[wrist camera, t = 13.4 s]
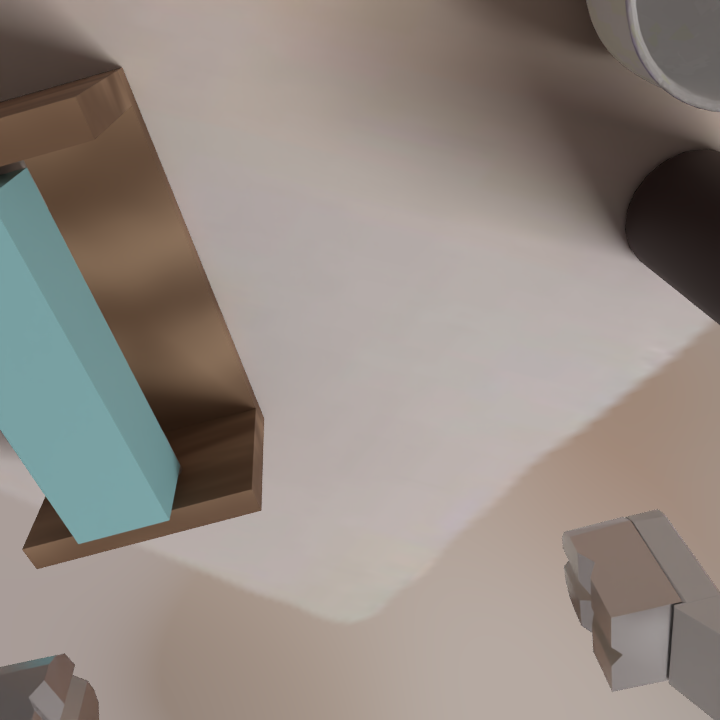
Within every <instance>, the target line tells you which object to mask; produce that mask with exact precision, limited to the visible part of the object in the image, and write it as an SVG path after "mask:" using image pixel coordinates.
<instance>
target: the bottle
mask: <svg viewBox="0 0 720 720" xmlns="http://www.w3.org/2000/svg"><path fill="white" fill-rule="evenodd" d="M625 230H626V234H627V238H628V243H629V246H630V248H631V250H632V251H633V252H634V254H635V255H636V256H637V258H638V259H639V261H641V262H642V263H643V264H644V265H646V266H647V267H648V268H649V269H651V270H652V271H653V272H654V273H656V274H657V275H658V276H659V277H661V278H662V279H663V280H664V281H666V282H667V283H668V284H669V285H671V286H672V287H673V288H674V289H676V290H677V291H678V292H679V293H681V294H682V295H683V296H684V297H686V298H687V299H688V300H689V301H691V302H692V303H693V304H694V305H696V306H697V307H698V308H699V309H701V310H702V311H703V312H704V313H706V314H707V315H708V316H709V317H711V318H712V319H713V320H714V321H716V322H717V323H718V324H719V325H720V152H717V151H712V150H707V149H704V150H697V151H690V152H684V153H682V154H680V155H677V156H675V157H673V158H671V159H669V160H667V161H665V162H663V163H662V164H661V165H660V166H659V167H657V168H656V169H655V170H654V171H652V172H651V173H650V174H649V175H648V176H647V177H646V178H645V180H644V181H643V182H642V184H641V185H640V186H639V188H638V189H637V190H636V192H635V194H634V196H633V198H632V201H631V203H630V206H629V208H628V211H627V218H626V228H625Z"/></svg>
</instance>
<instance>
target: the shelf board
mask: <svg viewBox="0 0 720 720" xmlns="http://www.w3.org/2000/svg"><path fill="white" fill-rule="evenodd" d="M0 430H1V431H2V433H3V434H4V436H5V437H6V439H7V440H8V442H9V443H10V445H11V446H12V448H13V449H14V451H15V452H16V453H17V455H18V456H19V458H20V459H21V461H22V462H23V464H24V465H25V467H26V468H27V470H28V471H29V472H30V474H31V475H32V477H33V478H34V480H35V481H36V483H37V484H38V486H39V487H40V489H41V490H42V492H43V493H44V494H45V496H46V497H47V499H48V500H49V502H50V503H51V505H52V506H53V508H54V509H55V511H56V512H57V513H58V515H59V516H60V518H61V519H62V521H63V522H64V524H65V525H66V527H67V528H68V530H69V531H70V533H71V534H72V535H73V537H74V538H75V540H76V541H77V543H78V544H81V543H85V542H89V541H93V540H96V539H100V538H104V537H108V536H112V535H115V534H119V533H123V532H127V531H131V530H135V529H138V528H142V527H146V526H150V525H154V524H157V523H161V522H165V521H169V520H170V515H171V510H172V505H173V500H174V495H175V489H176V484H177V479H178V474H179V469H180V464H179V462H178V460H177V458H176V456H175V454H174V452H173V450H172V448H171V447H170V445H169V443H168V441H167V439H166V437H165V435H164V433H163V431H162V429H161V427H160V425H159V423H158V421H157V419H156V417H155V415H154V414H153V412H152V410H151V408H150V406H149V404H148V402H147V400H146V398H145V396H144V394H143V392H142V390H141V388H140V386H139V384H138V382H137V381H136V379H135V377H134V375H133V373H132V371H131V369H130V367H129V365H128V363H127V361H126V359H125V357H124V355H123V353H122V351H121V349H120V348H119V346H118V344H117V342H116V340H115V338H114V336H113V334H112V332H111V330H110V328H109V326H108V324H107V322H106V320H105V318H104V316H103V315H102V313H101V311H100V309H99V307H98V305H97V303H96V301H95V299H94V297H93V295H92V293H91V291H90V289H89V287H88V285H87V283H86V282H85V280H84V278H83V276H82V274H81V272H80V270H79V268H78V266H77V264H76V262H75V260H74V258H73V256H72V254H71V252H70V250H69V249H68V247H67V245H66V243H65V241H64V239H63V237H62V235H61V233H60V231H59V229H58V227H57V225H56V223H55V221H54V219H53V217H52V215H51V214H50V212H49V210H48V208H47V206H46V204H45V202H44V200H43V198H42V196H41V194H40V192H39V190H38V188H37V186H36V184H35V182H34V181H33V179H32V177H31V175H30V173H29V171H28V169H27V168H23V169H20V170H16V171H12V172H9V173H5V174H2V175H0Z"/></svg>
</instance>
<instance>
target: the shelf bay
mask: <svg viewBox="0 0 720 720" xmlns="http://www.w3.org/2000/svg"><path fill="white" fill-rule="evenodd" d="M23 168H27V169H28V171H29V173H30V175H31V177H32V179H33V181H34V182H35V184H36V186H37V188H38V190H39V192H40V194H41V196H42V198H43V200H44V202H45V204H46V206H47V208H48V210H49V212H50V214H51V215H52V217H53V219H54V221H55V223H56V225H57V227H58V229H59V231H60V233H61V235H62V237H63V239H64V241H65V243H66V245H67V247H68V249H69V250H70V252H71V254H72V256H73V258H74V260H75V262H76V264H77V266H78V268H79V270H80V272H81V274H82V276H83V278H84V280H85V282H86V283H87V285H88V287H89V289H90V291H91V293H92V295H93V297H94V299H95V301H96V303H97V305H98V307H99V309H100V311H101V313H102V315H103V316H104V318H105V320H106V322H107V324H108V326H109V328H110V330H111V332H112V334H113V336H114V338H115V340H116V342H117V344H118V346H119V348H120V349H121V351H122V353H123V355H124V357H125V359H126V361H127V363H128V365H129V367H130V369H131V371H132V373H133V375H134V377H135V379H136V381H137V382H138V384H139V386H140V388H141V390H142V392H143V394H144V396H145V398H146V400H147V402H148V404H149V406H150V408H151V410H152V412H153V414H154V415H155V417H156V419H157V421H158V423H159V425H160V427H161V429H162V431H163V433H164V435H165V437H166V439H167V441H168V443H169V445H170V447H171V448H172V450H173V452H174V454H175V456H176V458H177V460H178V462H179V464H180V469H179V474H178V479H177V484H176V489H175V495H174V500H173V505H172V510H171V515H170V520H169V521H165V522H161V523H157V524H154V525H150V526H146V527H142V528H138V529H135V530H131V531H127V532H123V533H119V534H115V535H112V536H108V537H104V538H100V539H96V540H93V541H89V542H85V543H81V544H78V543H77V541H76V540H75V538H74V537H73V535H72V534H71V533H70V531H69V530H68V528H67V527H66V525H65V524H64V522H63V521H62V519H61V518H60V516H59V515H58V513H57V512H56V511H55V509H54V508H53V506H52V505H51V503H50V502H49V500H48V499H47V497H45V499H44V501H43V504H42V506H41V508H40V510H39V513H38V515H37V517H36V520H35V522H34V524H33V526H32V528H31V531H30V533H29V535H28V538H27V540H26V542H25V544H24V547H23V551H24V552H25V554H26V555H27V557H28V558H29V559H30V561H31V562H32V563H33V565H34V566H35V567H36V568H37V569H39V568H43V567H46V566H51V565H54V564H58V563H62V562H66V561H70V560H74V559H77V558H81V557H85V556H89V555H93V554H97V553H100V552H104V551H108V550H112V549H116V548H119V547H123V546H127V545H131V544H135V543H139V542H143V541H146V540H150V539H154V538H158V537H162V536H166V535H169V534H173V533H177V532H181V531H185V530H189V529H192V528H196V527H200V526H204V525H208V524H212V523H215V522H219V521H223V520H227V519H231V518H235V517H238V516H242V515H246V514H250V513H254V512H257V511H261V504H262V470H263V437H264V417H263V414H262V412H261V410H260V407H259V405H258V402H257V400H256V397H255V395H254V392H253V390H252V387H251V385H250V382H249V380H248V377H247V375H246V372H245V370H244V367H243V365H242V363H241V360H240V358H239V355H238V353H237V350H236V348H235V345H234V343H233V340H232V338H231V335H230V333H229V330H228V328H227V325H226V323H225V320H224V318H223V316H222V313H221V311H220V308H219V306H218V303H217V301H216V298H215V296H214V293H213V291H212V288H211V286H210V283H209V281H208V278H207V276H206V273H205V271H204V269H203V266H202V264H201V261H200V259H199V256H198V254H197V251H196V249H195V246H194V244H193V241H192V239H191V236H190V234H189V231H188V229H187V226H186V224H185V222H184V219H183V217H182V214H181V212H180V209H179V207H178V204H177V202H176V199H175V197H174V194H173V192H172V189H171V187H170V184H169V182H168V179H167V177H166V175H165V172H164V170H163V167H162V165H161V162H160V160H159V157H158V155H157V152H156V150H155V147H154V145H153V142H152V140H151V137H150V135H149V132H148V130H147V128H146V125H145V123H144V120H143V118H142V115H141V113H140V110H139V108H138V105H137V103H136V100H135V98H134V95H133V93H132V90H131V88H130V85H129V83H128V81H127V78H126V76H125V73H124V71H123V68H119V69H115V70H112V71H108V72H105V73H101V74H98V75H94V76H91V77H87V78H84V79H80V80H77V81H73V82H70V83H66V84H63V85H59V86H56V87H52V88H49V89H45V90H42V91H38V92H35V93H31V94H28V95H24V96H21V97H17V98H14V99H10V100H7V101H3V102H0V175H2V174H5V173H9V172H12V171H16V170H20V169H23Z"/></svg>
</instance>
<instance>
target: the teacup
mask: <svg viewBox="0 0 720 720" xmlns="http://www.w3.org/2000/svg"><path fill="white" fill-rule="evenodd" d="M586 3H587V7H588V11H589V14H590V18H591V21H592V23H593V26H594V28H595V30H596V32H597V34H598V36H599V38H600V40H601V41H602V43H603V44H604V46H605V47H606V49H607V50H608V51H609V52H610V53H611V54H612V55H613V56H614V57H615V58H616V59H617V60H618V61H619V62H620V63H621V64H622V65H623V66H625V67H626V68H627V69H628V70H630V71H631V72H633V73H634V74H636V75H638V76H639V77H641V78H643V79H644V80H646V81H648V82H650V83H652V84H654V85H656V86H658V87H660V88H662V89H664V90H665V91H666V92H668V93H669V94H670V95H672V96H673V97H675V98H676V99H678V100H680V101H682V102H684V103H686V104H689V105H691V106H694V107H697V108H700V109H704V110H709V111H714V112H720V0H586Z"/></svg>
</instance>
